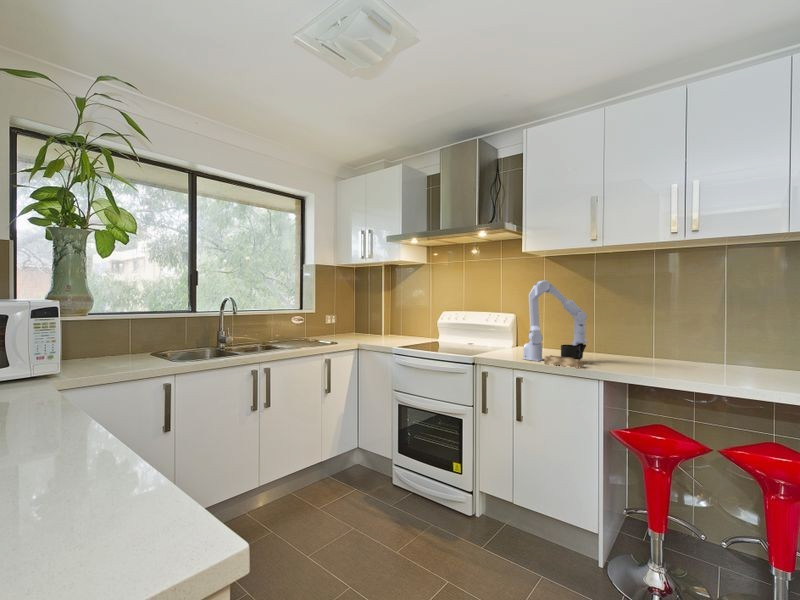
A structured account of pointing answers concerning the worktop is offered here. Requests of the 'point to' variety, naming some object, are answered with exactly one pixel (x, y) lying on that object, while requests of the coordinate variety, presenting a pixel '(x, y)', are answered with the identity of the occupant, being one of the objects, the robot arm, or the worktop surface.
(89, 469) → the worktop surface
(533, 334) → the robot arm
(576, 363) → the brown lumpy block
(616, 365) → the worktop surface
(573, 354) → the mug
